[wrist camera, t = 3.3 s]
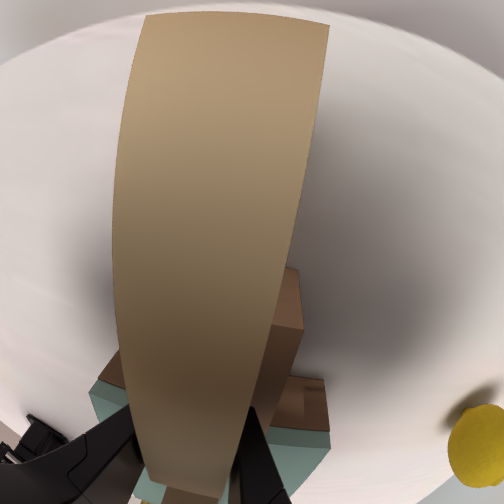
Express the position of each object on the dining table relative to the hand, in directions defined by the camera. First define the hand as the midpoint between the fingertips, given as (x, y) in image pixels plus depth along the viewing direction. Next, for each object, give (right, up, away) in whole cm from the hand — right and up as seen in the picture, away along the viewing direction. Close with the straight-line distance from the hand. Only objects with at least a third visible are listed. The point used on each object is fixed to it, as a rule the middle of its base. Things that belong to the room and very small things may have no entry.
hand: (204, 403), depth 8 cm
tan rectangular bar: (+1, +4, -1) cm, 4 cm away
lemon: (+18, -7, +6) cm, 20 cm away
